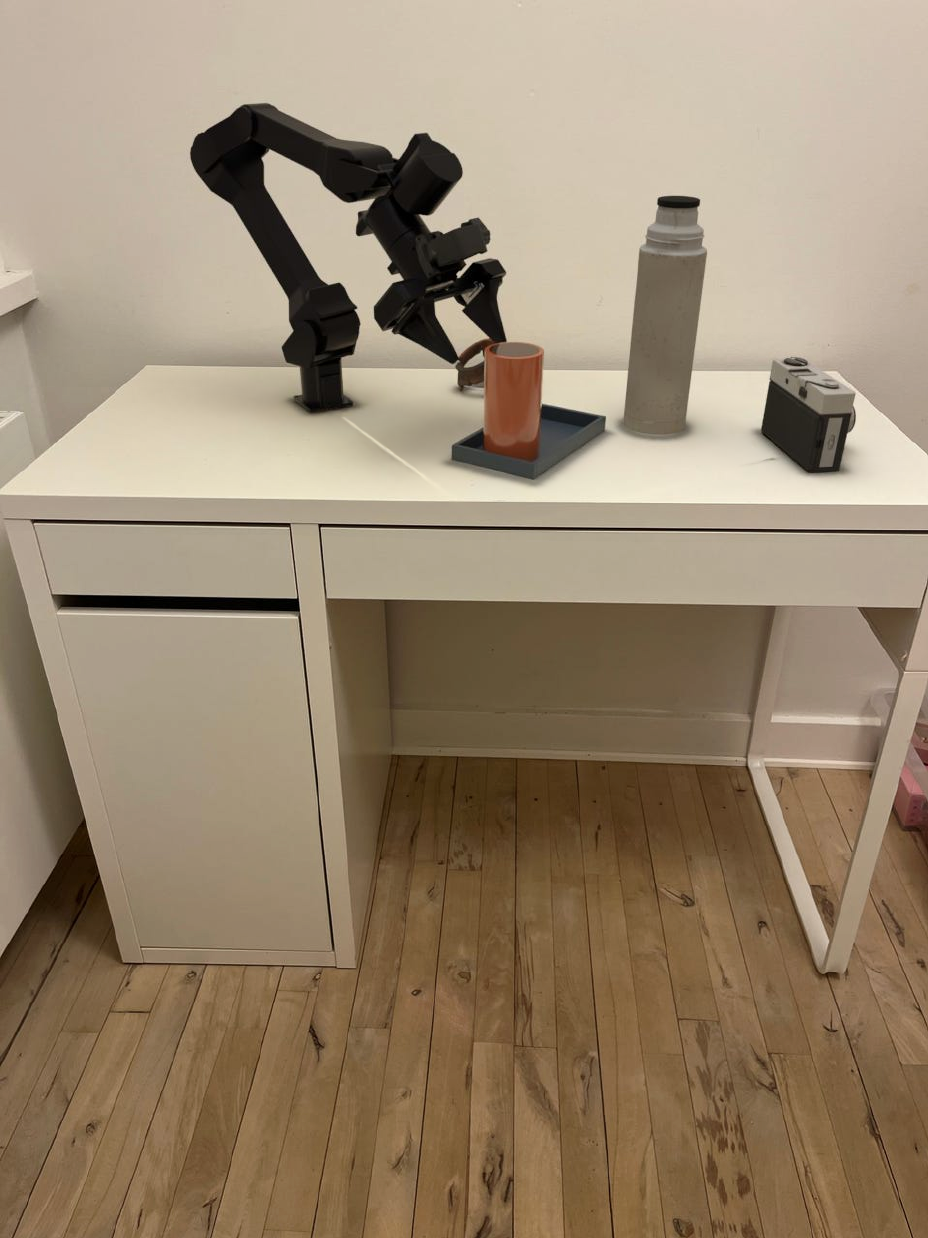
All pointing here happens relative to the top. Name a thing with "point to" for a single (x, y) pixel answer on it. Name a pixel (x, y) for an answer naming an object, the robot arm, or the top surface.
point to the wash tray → (557, 442)
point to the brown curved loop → (475, 372)
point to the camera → (808, 414)
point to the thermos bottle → (665, 318)
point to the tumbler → (513, 399)
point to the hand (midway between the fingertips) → (480, 352)
